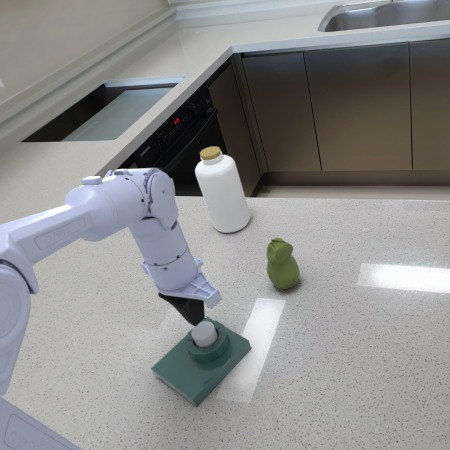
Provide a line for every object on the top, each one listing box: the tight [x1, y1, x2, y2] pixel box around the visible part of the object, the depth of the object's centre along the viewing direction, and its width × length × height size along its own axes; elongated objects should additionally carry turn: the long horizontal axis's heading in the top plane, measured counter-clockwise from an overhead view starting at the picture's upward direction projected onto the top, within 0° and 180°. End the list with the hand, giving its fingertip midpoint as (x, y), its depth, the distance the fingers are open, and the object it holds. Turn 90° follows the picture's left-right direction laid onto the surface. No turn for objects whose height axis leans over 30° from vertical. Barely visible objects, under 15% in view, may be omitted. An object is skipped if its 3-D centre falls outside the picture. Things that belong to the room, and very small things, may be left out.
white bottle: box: [194, 145, 251, 234], centre depth 96 cm, size 8×8×18 cm
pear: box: [266, 237, 301, 290], centre depth 80 cm, size 6×5×10 cm
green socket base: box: [150, 316, 252, 407], centre depth 71 cm, size 12×10×4 cm
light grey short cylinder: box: [191, 321, 218, 348], centre depth 71 cm, size 4×4×2 cm
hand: (197, 320), depth 68 cm, fingers closed
